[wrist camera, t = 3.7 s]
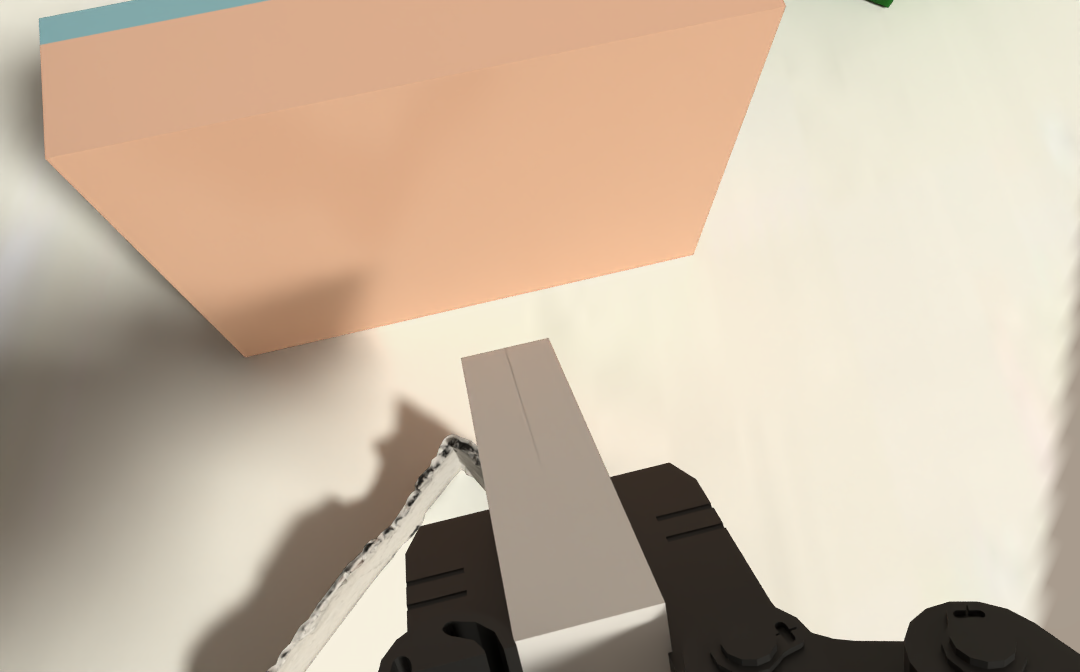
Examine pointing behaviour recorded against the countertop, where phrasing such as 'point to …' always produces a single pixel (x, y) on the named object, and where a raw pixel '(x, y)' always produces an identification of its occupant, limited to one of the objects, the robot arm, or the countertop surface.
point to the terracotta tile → (396, 145)
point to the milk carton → (883, 2)
